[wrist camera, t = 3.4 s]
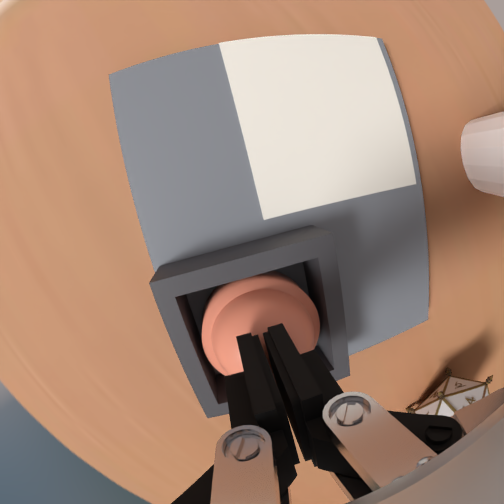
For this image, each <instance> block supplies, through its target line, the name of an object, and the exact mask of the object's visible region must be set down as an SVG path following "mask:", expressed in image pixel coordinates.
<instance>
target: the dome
mask: <svg viewBox="0 0 504 504" xmlns="http://www.w3.org/2000/svg"><path fill="white" fill-rule="evenodd" d="M280 323H282V324H283V325H284V327H285V329H286V331H287V332H288V334H289V336H290V338H291V339H292V341H293V343H294V345H295V346H296V348H297V350H298V352H299V353H300V354H302V353H305V352H308V351H311V350H314V348H315V346H316V344H317V341H318V337H319V332H320V321H319V315H318V312H317V309H316V307H315V305H314V303H313V302H312V300H311V299H310V298H309V297H308V295H307V294H306V293H305V292H304V291H303V290H302V289H301V288H300V287H299V286H298V284H297V283H296V282H294V281H293V280H292V279H291V278H289V277H288V276H286V275H284V274H282V273H280V272H277V271H274V270H272V271H269V272H265V273H262V274H258V275H254V276H251V277H247V278H244V279H240V280H236V281H233V282H229V283H226V284H222V285H218V286H217V287H216V288H215V289H214V290H213V291H212V293H211V294H210V296H209V297H208V299H207V301H206V303H205V306H204V309H203V315H202V345H203V349H204V352H205V354H206V356H207V358H208V360H209V361H210V363H211V364H212V365H213V366H214V367H215V368H216V369H217V370H218V371H219V372H220V373H222V374H223V375H225V376H227V375H231V374H235V373H239V372H243V371H244V370H243V365H242V361H241V357H240V352H239V348H238V343H237V339H236V336H239V335H243V334H246V333H250V332H251V334H252V336H254V335H257V334H258V336H259V339H260V342H261V345H262V347H263V350H264V353H265V355H266V358H267V361H268V363H269V366H270V369H271V371H272V374H273V370H272V367H271V363H270V359H269V355H268V352H267V348H266V344H265V341H264V337H263V333H264V332H268V329H267V327H271V326H274V325H277V324H280ZM273 377H274V374H273ZM274 379H275V378H274ZM275 382H276V381H275Z"/></svg>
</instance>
